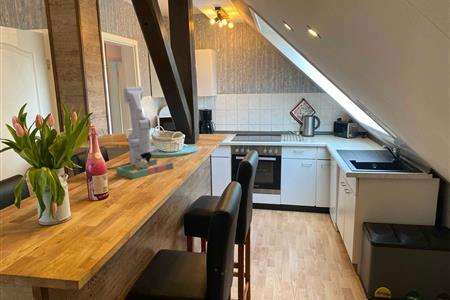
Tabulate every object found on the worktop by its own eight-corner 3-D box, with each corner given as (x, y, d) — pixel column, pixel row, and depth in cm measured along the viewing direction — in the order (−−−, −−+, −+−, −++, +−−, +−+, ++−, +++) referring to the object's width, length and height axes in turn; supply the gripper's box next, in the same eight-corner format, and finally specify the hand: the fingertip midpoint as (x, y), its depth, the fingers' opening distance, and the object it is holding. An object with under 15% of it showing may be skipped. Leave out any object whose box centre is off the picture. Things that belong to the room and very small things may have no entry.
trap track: (116, 173, 173) (115, 167, 172) (155, 163, 191) (155, 158, 190) (133, 178, 162) (132, 173, 162) (173, 168, 180) (172, 162, 180)
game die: (140, 179, 174) (129, 165, 175) (153, 170, 177) (142, 156, 179) (140, 174, 166) (128, 159, 167) (154, 165, 169) (142, 150, 171)
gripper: (137, 144, 166) (139, 170, 169) (160, 140, 177) (162, 165, 180) (129, 143, 171) (131, 168, 174) (152, 139, 182) (154, 163, 184)
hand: (146, 166), depth 177 cm, fingers closed
